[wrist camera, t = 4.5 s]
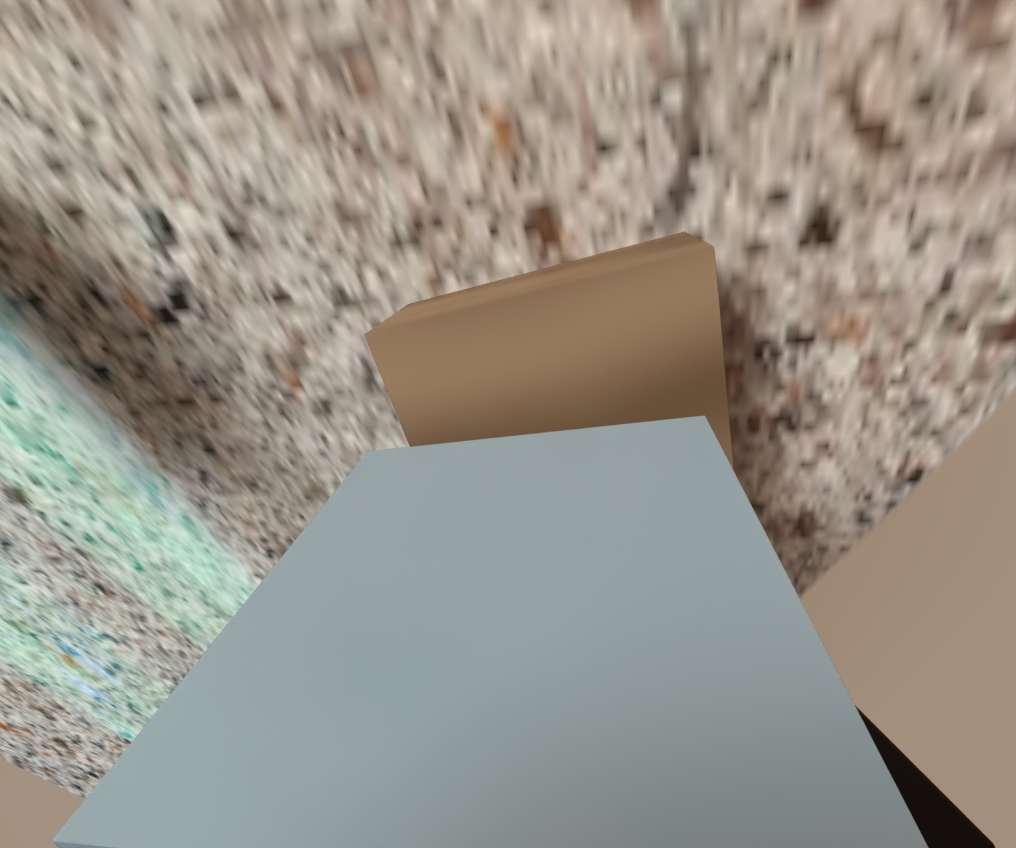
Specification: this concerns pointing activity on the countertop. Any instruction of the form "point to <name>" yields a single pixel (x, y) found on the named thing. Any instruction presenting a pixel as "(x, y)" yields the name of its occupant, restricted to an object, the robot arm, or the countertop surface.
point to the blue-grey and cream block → (514, 671)
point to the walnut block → (563, 348)
